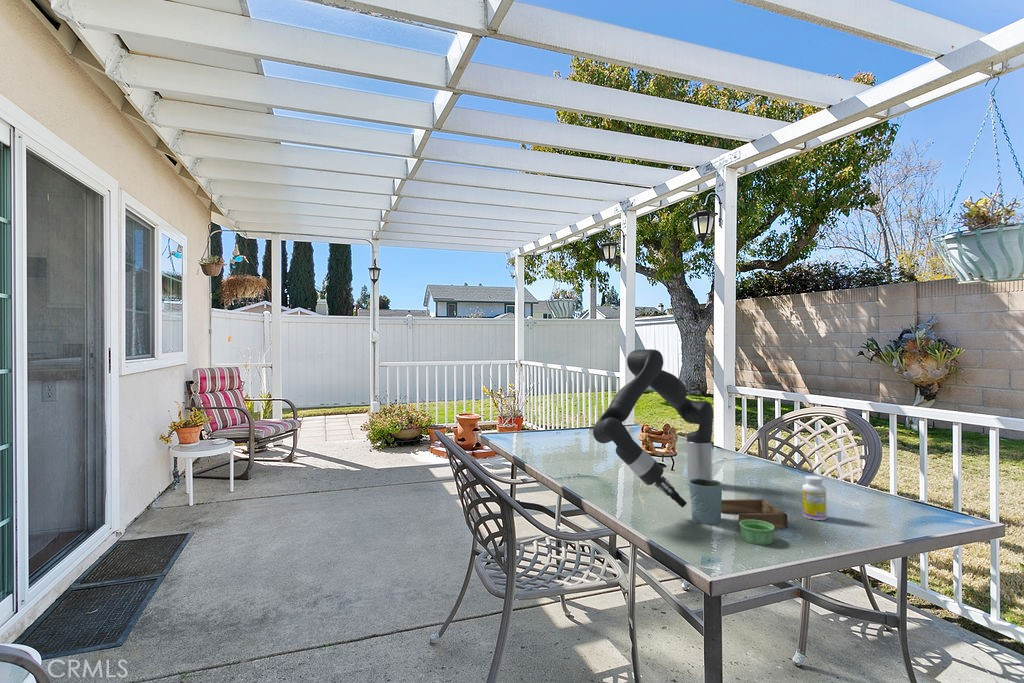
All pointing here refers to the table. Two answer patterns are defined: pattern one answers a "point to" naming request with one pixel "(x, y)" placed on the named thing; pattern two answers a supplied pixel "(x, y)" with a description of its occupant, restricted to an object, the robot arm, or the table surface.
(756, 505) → the brown piece
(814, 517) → the supplement bottle
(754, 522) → the ramekin
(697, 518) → the blue-grey plant pot
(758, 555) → the table surface
